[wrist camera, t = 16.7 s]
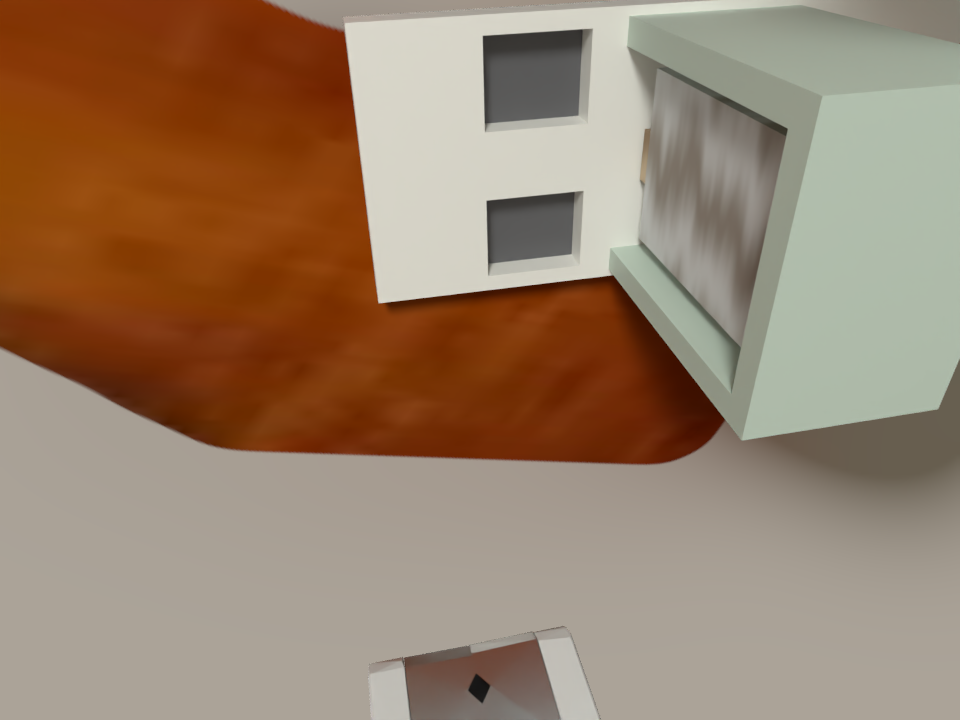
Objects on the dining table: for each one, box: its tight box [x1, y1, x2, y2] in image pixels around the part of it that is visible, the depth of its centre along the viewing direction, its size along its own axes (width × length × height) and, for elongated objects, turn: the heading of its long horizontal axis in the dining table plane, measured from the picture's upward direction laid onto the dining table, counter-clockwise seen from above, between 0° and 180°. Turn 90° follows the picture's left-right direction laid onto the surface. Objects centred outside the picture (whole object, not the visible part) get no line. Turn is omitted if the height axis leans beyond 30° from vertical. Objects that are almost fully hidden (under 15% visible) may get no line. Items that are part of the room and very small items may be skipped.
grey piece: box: [639, 67, 788, 347], centre depth 38 cm, size 10×21×14 cm, turn 91°
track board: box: [343, 0, 960, 303], centre depth 43 cm, size 16×36×2 cm, turn 91°
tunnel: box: [609, 5, 960, 440], centre depth 36 cm, size 15×10×18 cm, turn 1°
